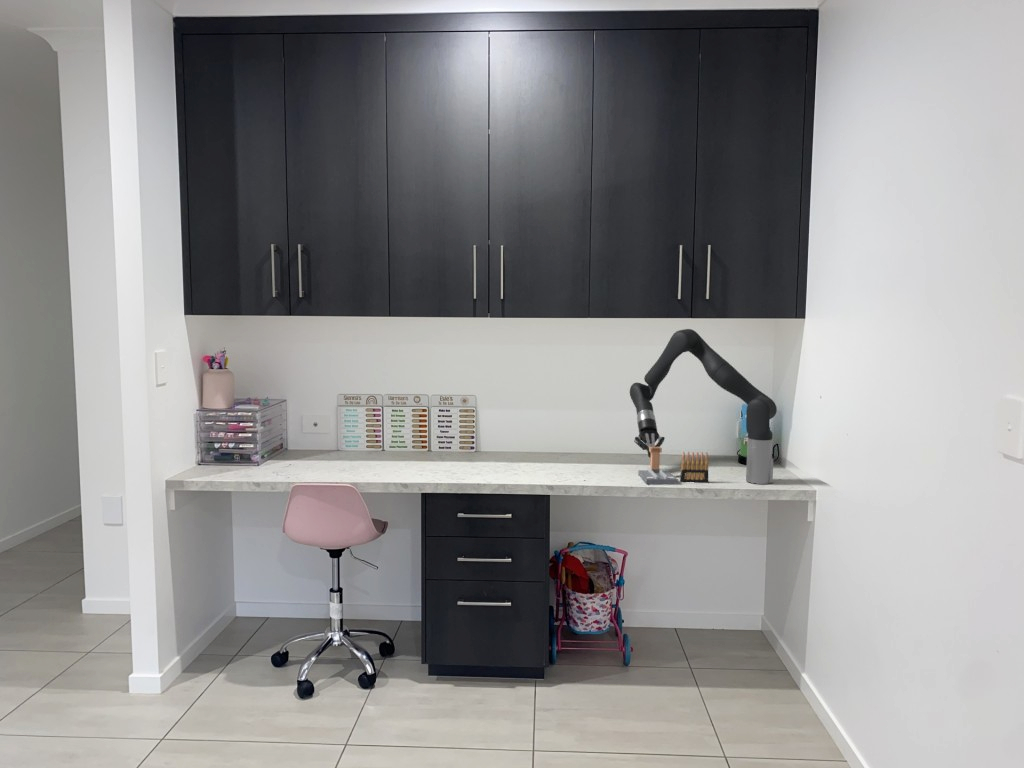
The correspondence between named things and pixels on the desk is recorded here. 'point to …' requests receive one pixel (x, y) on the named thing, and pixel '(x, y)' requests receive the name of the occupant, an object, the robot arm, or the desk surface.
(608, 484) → the desk surface
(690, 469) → the ammunition clip
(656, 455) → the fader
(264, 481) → the desk surface
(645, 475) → the fader console
